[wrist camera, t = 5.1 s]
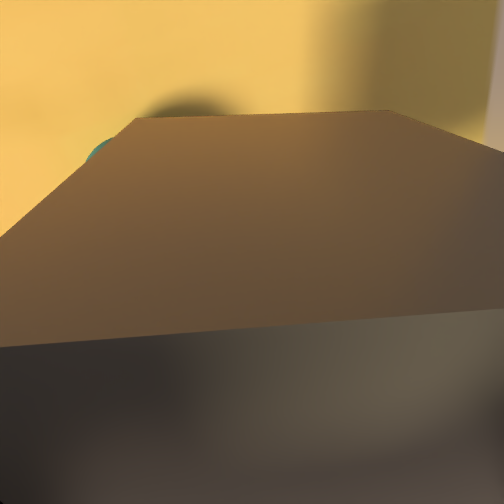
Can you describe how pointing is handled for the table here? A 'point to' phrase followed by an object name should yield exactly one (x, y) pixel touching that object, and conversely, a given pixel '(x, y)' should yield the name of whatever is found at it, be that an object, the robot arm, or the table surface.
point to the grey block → (259, 318)
